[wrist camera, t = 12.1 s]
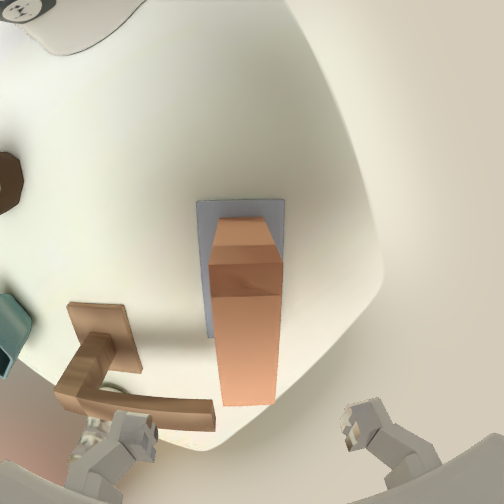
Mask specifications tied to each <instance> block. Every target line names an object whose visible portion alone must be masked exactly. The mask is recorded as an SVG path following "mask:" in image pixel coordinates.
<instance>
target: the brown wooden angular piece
mask: <svg viewBox="0 0 504 504" xmlns="http://www.w3.org/2000/svg"><path fill="white" fill-rule="evenodd" d="M66 307H67V310H68V313H69V316H70V319H71V322H72V324H73V327H74V330H75V332H76V335H77V337H78V340H79V342H80V345H81V346H80V347H79V349H78V351H77V352H76V354H75V355H74V357H73V358H72V360H71V362H70V363H69V365H68V366H67V368H66V370H65V371H64V373H63V375H62V376H61V378H60V380H59V381H58V383H57V385H56V387H55V388H54V390H53V392H54V394H55V395H56V397H57V398H58V400H59V401H60V403H61V404H62V406H63V407H64V409H65V410H67V411H71V412H74V413H78V414H82V415H86V416H90V417H94V418H99V419H103V420H108V421H112V420H113V417H114V414H115V412H116V411H117V410H122V411H128V412H134V413H142V414H151V416H152V418H153V421H152V422H153V423H155V424H156V426H157V428H160V429H171V430H184V431H205V432H215V425H216V417H215V412H214V406H213V401H212V400H206V399H178V398H163V397H152V396H142V395H133V394H126V393H119V392H112V391H106V390H100V386H101V384H102V382H103V380H104V378H105V375H106V373H107V371H108V370H112V371H120V372H129V373H138V374H141V372H142V369H143V368H142V365H141V362H140V359H139V356H138V353H137V350H136V347H135V343H134V340H133V337H132V333H131V330H130V326H129V323H128V319H127V315H126V312H125V308H124V305H108V304H88V303H71V302H70V303H69V304H68V305H67V306H66Z"/></svg>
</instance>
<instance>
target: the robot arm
mask: <svg viewBox="0 0 504 504" xmlns="http://www.w3.org/2000/svg"><path fill="white" fill-rule="evenodd" d="M143 1H145V0H0V21H5V22H10V23H14V24H15V25H17V26H18V27H20V28H21V29H22V30H24V31H25V32H26V33H27V35H29V36H30V37H32V38H34V39H35V40H37V41H38V42H39V43H40V44H41V45H42V47H43V48H44V49H45V50H46V51H47V52H48V53H50V54H53V55H57V56H64V55H70V54H74V53H77V52H80V51H82V50H84V49H87V48H89V47H91V46H92V45H94V44H96V43H98V42H99V41H101V40H102V39H104V38H105V37H107V36H108V35H109V34H111V33H112V32H113V31H114V30H116V29H117V28H118V27H119V26H120V25H121V24H122V23H123V22H124V21H125V20H126V19H127V18H128V17H129V16H130V15H131V14H132V13H133V12H134V11H135V9H136V8H137V7H138V6H139V5H140V4H141V3H142V2H143ZM344 410H345V413H343V414H342V415H341V418H340V427H341V430H342V433H343V434H345V435H346V436H347V437H346V439H345V442H346V445H347V448H348V451H349V452H351V451H355V450H359V449H363V448H366V449H367V450H368V451H369V452H371V453H372V454H373V455H374V456H376V457H377V458H378V459H379V460H381V461H382V462H383V463H385V464H386V465H387V466H388V467H390V468H391V469H392V471H391V472H390V473H389V474H388V475H387V476H386V477H385V478H384V480H385V483H386V486H387V489H388V490H387V491H385V492H382V493H380V494H376V495H374V496H371V497H368V498H365V499H361V500H358V501H355V502H352V503H348V504H504V436H503V435H500V434H497V433H492V434H490V435H488V436H487V437H485V438H484V439H483V440H481V441H480V442H478V443H477V444H475V445H474V446H472V447H471V448H470V449H468V450H466V451H465V452H463V453H462V454H460V455H458V456H457V457H455V458H453V459H452V460H450V461H448V462H447V463H445V464H443V465H442V463H441V461H440V459H439V457H438V455H437V453H436V451H435V449H434V447H433V445H432V444H431V443H429V442H427V441H425V440H424V439H422V438H420V437H418V436H417V435H415V434H413V433H411V432H410V431H408V430H406V429H404V428H403V427H401V426H399V425H398V424H396V423H395V424H393V423H392V421H391V419H390V417H389V415H388V413H387V411H386V409H385V407H384V405H383V403H382V401H381V399H380V398H379V397H378V398H377V397H376V398H372V399H369V400H364V401H360V402H356V403H352V404H347V405H346V406H345V408H344ZM152 421H153V418H152V416H151V414H142V413H134V412H128V411H122V410H117V411H116V412H115V414H114V417H113V420H112V423H111V427H110V430H109V433H108V437H107V439H103V440H102V441H100V442H99V443H98V444H97V445H95V446H94V447H93V448H92V449H90V450H89V451H88V452H87V453H85V454H84V455H83V456H81V457H80V458H79V459H78V460H76V461H75V462H74V463H72V464H71V466H70V469H69V473H68V477H67V480H66V483H65V487H62V486H59V485H57V484H55V483H52V482H50V481H48V480H46V479H44V478H42V477H40V476H38V475H36V474H34V473H32V472H30V471H28V470H26V469H24V468H23V467H21V466H19V465H17V464H16V463H14V462H12V461H10V460H3V461H0V504H122V500H123V493H122V492H121V491H119V490H118V489H117V488H116V487H114V485H115V484H116V482H118V481H119V480H120V478H121V477H122V476H123V475H124V474H125V473H126V472H127V471H128V470H129V469H130V468H131V466H133V464H134V463H135V462H136V460H137V461H144V462H152V463H154V461H155V454H156V450H155V448H154V447H153V446H154V445H155V444H156V443H157V442H158V429H157V426H156V424H155V423H153V422H152Z"/></svg>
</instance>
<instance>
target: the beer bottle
mask: <svg viewBox="0 0 504 504" xmlns="http://www.w3.org/2000/svg"><path fill="white" fill-rule="evenodd" d="M23 182H24V181H23V177H22V172H21V168H20V163H19V160H17V159H16V158H14V157H13V156H11V155H10V154H8V153H7V152H0V215H1V214H3V213H5V212H7V211H8V210H10V209H11V208H13V207H14V206H16V205H17V204H18V203H19V199H20V194H21V190H22V186H23Z"/></svg>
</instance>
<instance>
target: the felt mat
mask: <svg viewBox="0 0 504 504" xmlns="http://www.w3.org/2000/svg"><path fill="white" fill-rule="evenodd" d="M284 205H285V200H284V199H251V200H214V201H197V202H196V207H197V224H198V239H199V253H200V265H201V277H202V287H203V298H204V307H205V317H206V325H207V334H208V338H215V336H214V327H213V316H212V306H211V294H210V282H209V270H208V263H209V259H210V254H211V250H212V246H213V241H214V237H215V233H216V228H217V224H218V220H219V218H227V217H263V218H264V220H265V222H266V225H267V227H268V229H269V231H270V234H271V236H272V238H273V240H274V242H275V245H276V247H277V249H278V252H279V254H280V256H281V258H282V261H283V244H284Z"/></svg>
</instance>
